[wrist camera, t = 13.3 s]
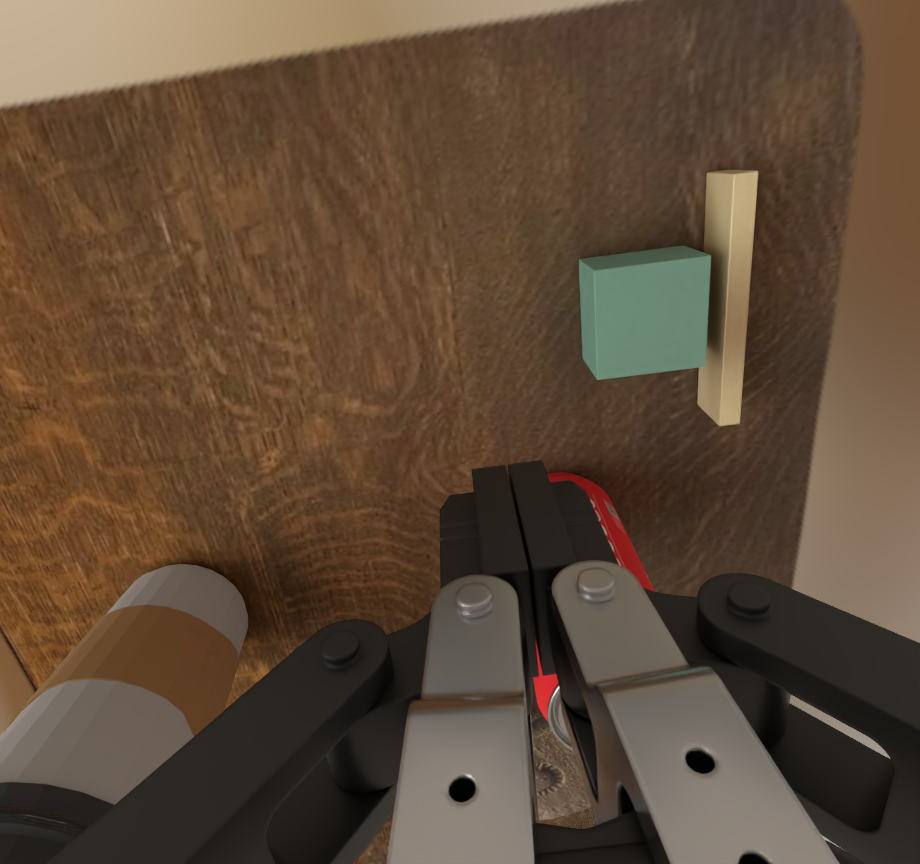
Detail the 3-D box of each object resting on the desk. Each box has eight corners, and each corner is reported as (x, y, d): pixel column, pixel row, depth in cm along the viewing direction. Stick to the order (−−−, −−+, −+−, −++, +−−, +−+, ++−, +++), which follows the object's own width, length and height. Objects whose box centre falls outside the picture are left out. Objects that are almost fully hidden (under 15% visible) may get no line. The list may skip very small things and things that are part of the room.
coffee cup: (112, 528, 30) (-166, 840, 16) (280, 561, 31) (151, 880, 17) (108, 651, 33) (-126, 995, 20) (260, 677, 34) (138, 1021, 21)
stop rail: (705, 172, 24) (733, 174, 21) (729, 169, 24) (759, 170, 21) (696, 405, 28) (719, 426, 26) (716, 402, 28) (740, 424, 26)
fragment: (455, 803, 41) (453, 887, 37) (326, 661, 34) (305, 743, 30) (639, 752, 38) (661, 837, 34) (537, 584, 31) (548, 663, 27)
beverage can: (563, 444, 28) (635, 621, 18) (629, 509, 30) (734, 709, 19) (484, 510, 30) (506, 712, 19) (552, 569, 32) (608, 786, 21)
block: (578, 258, 25) (593, 270, 22) (684, 245, 25) (711, 255, 22) (582, 359, 27) (596, 380, 24) (681, 346, 27) (706, 366, 24)
